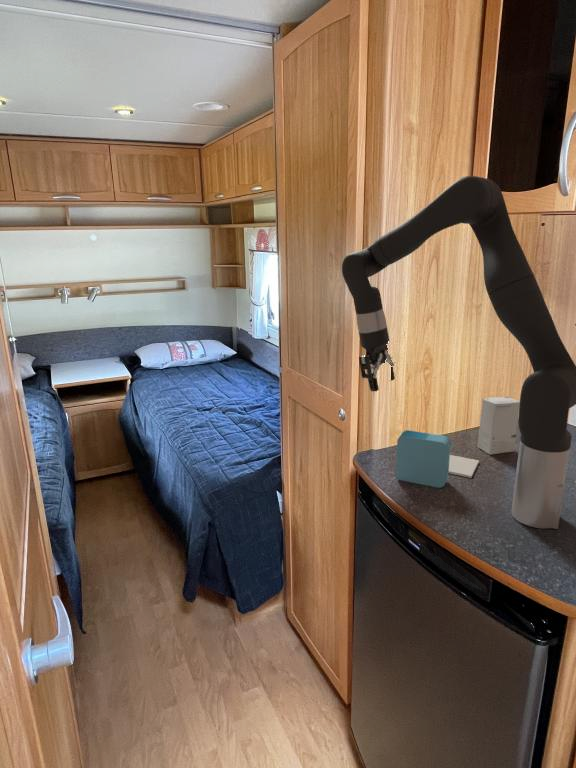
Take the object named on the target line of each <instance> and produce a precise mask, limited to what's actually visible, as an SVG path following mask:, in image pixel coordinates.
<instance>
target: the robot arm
mask: <svg viewBox="0 0 576 768" xmlns="http://www.w3.org/2000/svg"><path fill="white" fill-rule="evenodd" d="M506 205H507V204H506V201H505V198H504V195H503V193H502V190H501V188H500V186H498V184H497V183H496V182H495V181H493V180H492V179H489V178H485V177H481V176H478V175H477V176H476V175H467V176H463V177H460V178H459V179H457V180H456V181H455V182H453V183H452V184H451V185H449V186H448V187H447V188H446V189H445V190H443V191H442V192H441V193H440V194H439V195H438V196H436V198H434V199H433V200H432V201H431V202H430V203H429V204H427V205H426V206H425V207H423V208H422V209H421V210H420V211H418V212H417V213H416V214H414V215H413V216H412V217H411V218H409V219H407V220H406V221H404V222H403V223H401V224H399V225H398V226H396V227H394V228H393V229H391V230H389V231H388V232H386V233H384V234H383V235H381V236H380V237H378V238H377V239H376V240H375V241H374V242H373V243H372V244H371V245H369V246H368V247H366V248H364V249H361V250H358V251H355V252H352V253H351V252H350V253H349V254H347V255H346V256H345V257H344V258H343V260H342V264H341V273H342V276H343V279H344V282H345V284H346V287H347V289H348V291H349V293H350V295H351V296H352V299H353V304H354V310H355V315H356V326H357V330H358V336H359V342H360V346H361V347H362V348H363V349H365V355H359V357H358V360H359V366H360V374H361V378H362V379H367V381H368V385H369V390H370V392H377V391H379V390H380V389H379V382H378V379H377V373H378V371H379V370H380V367H381V366H382V365H383V363H385V360H386V359H387V360H386V362H388V363H389V364H390V365H391V366H393V367H391V380H390V381H394V380H395V378H396V377H395V371H393V370H394V366H395V362H394V363H393V362H392V360H391V359H392V358H393V357H392V355H391V354H390V355H389V354H388V351H387V350H388V348H387V345H386V344H388V343H389V342H390V335H389V329H388V325H387V318H386V315H385V312H384V308H383V301H382V296H381V293H380V290H379V288H378V287H376V286H372V284H371V282H370V280H369V277H372V276H375V275H376V274H379V273H380V272H382V271H383V270H384V269H385V268H387V267H388V266H390V265H393V264H394V263H396V262H398V261H400V260H402V259H403V258H406V257H407V256H409V255H411V254H412V253H414V252H415V251H417V250H418V249H419V248H420V247H421V246H423V244H424V243H425V242H426V241H428V240H429V239H430V238H431V237H433V236H434V235H436V234H437V233H439V232H441V231H443V230H445V229H448V228H451V227H454V226H455V225H460V224H464V225H465V224H466V225H467V224H468V225H469V226H470V228H471V229H472V232H473V233H474V236H475V237H476V239H477V241H478V244H479V247H480V249H481V253H482V258H483V259H482V260H483V261H482V263H483V279H484V286H485V290H486V292H487V294H488V298H489V301H490V303H491V304H492V307H493V310H494V312H495V314H496V316H497V317H498V319H499V321H500V322H501V323H502V325H503V326H504V327H505V328H506V329H507V331H509V333H510V334H511V335H512V336H513V337H514V338H515V339H516V340H517V341H518V343H519V344H520V345H521V346H522V348H523V349H524V350H525V353H526V355H527V357H528V359H529V362H530V365H531V367H532V370H533V373H531V374H530V375H528V376H527V377H526V378H525V379H524V381H523V384H522V386H521V390H520V396H519V397H520V398H519V402H520V407H519V415H518V424H517V426H518V430H519V432H520V439H519V444H518V445H519V446H518V454H517V462H516V463H517V464H516V470H515V471H516V472H515V480H514V487H513V495H512V502H511V512H510V513H511V516H512V517H513V519H515V520H516V521H517V522H519V523H520V524H522V525H525V526H527V527H531V528H535V529H536V528H537V529H555V530H558V529H559V524H560V518H561V517H560V516H561V512H562V511H561V510H562V505H563V498H564V493H565V491H564V490H565V485H566V476H567V469H568V464H569V458H570V457H569V456H570V451H571V444H572V434H571V432H570V431H569V430H568V429H567V428H568V419H569V411H570V409H571V408H573V407H575V406H576V364H575V362H574V360H573V358H572V357H571V355H570V353H569V352H568V350H567V348H566V346H565V345H564V343H563V341H562V339H561V337H560V334H559V333H558V330H557V327H556V325H555V322H554V320H553V317H552V315H551V313H550V311H549V308H548V306H547V303H546V301H545V299H544V296H543V295H544V294H543V293H542V290H541V288H540V286H539V283H538V281H537V279H536V277H535V274H534V273H533V270H532V268H531V265H530V264H529V262H528V259H527V257H526V254H525V253H524V250H523V249H522V246H521V244H520V242H519V240H518V239H517V236H516V234H515V230H514V228H513V225H512V223H511V222H512V221H511V218H510V215H509V213H508V208H507V206H506Z"/></svg>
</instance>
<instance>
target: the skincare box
mask: <svg viewBox="0 0 576 768" xmlns="http://www.w3.org/2000/svg"><path fill="white" fill-rule="evenodd" d="M519 407H520V400H517V399H514V398H511V397H509V396H495V397H494V396H493V397H486V398H485V397H484V398H482V401H481V410H480V419H479V428H478V430H479V431H478V439H477V448H478V449H480V450H482V451H483V452H484V453H486V454H487V455H490V456H491V455H492V456H493V455H497V454H503V453H512V452H515V448H516V447H515V445H516V438H517V431H518V430H517V429H518V420H519Z"/></svg>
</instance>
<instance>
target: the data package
mask: <svg viewBox="0 0 576 768" xmlns="http://www.w3.org/2000/svg"><path fill="white" fill-rule="evenodd" d="M451 446H452V443H451V439H450V438H449V437H448V436H446V435H441V434H436V433H428V432H422V431H421V432H420V431H416V430H407V429H406V430H404V431H403V432H401V434H400V436H398V438H397V441H396V461H395V463H396V465H395V466H396V467H395V476H396V478H397V479H398V480H400V481H401V482H405V483H406V482H408V483H413V484H416V485H423V486H427V487H432V488H437V489H441V488H443V487H444V486H445V485H446V483H447V480H448V478H449V473H448V472H449V459H450V455H451Z"/></svg>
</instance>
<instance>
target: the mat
mask: <svg viewBox="0 0 576 768" xmlns="http://www.w3.org/2000/svg"><path fill="white" fill-rule="evenodd" d="M479 463H480V460H478V459H472V458H467V457H463V456H459V455H458V456H457V455H453V454H450V459H449V472H448V474H451V475H455V476H460V477H465V478H469V479H472V477H473V475H474V473H475V471H476V469H477V467H478V465H479Z"/></svg>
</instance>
